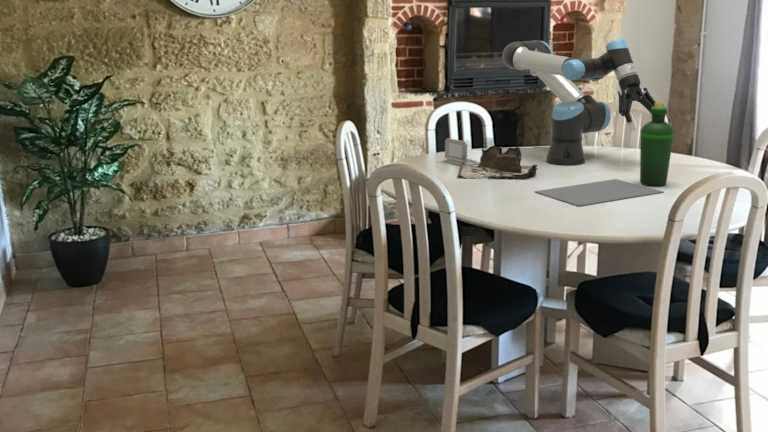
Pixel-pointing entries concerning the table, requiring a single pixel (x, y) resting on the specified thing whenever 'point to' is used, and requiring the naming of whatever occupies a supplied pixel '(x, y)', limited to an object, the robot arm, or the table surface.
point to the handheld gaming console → (457, 153)
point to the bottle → (656, 148)
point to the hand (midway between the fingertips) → (646, 129)
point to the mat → (598, 192)
